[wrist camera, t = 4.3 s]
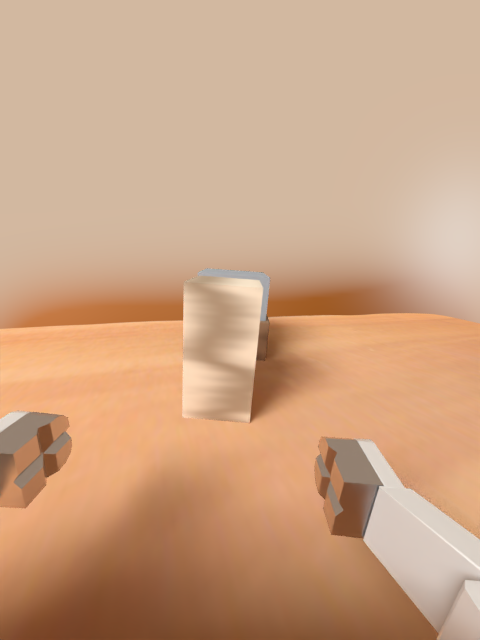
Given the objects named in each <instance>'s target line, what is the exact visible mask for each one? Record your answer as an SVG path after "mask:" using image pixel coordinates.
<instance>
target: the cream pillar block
mask: <svg viewBox="0 0 480 640" xmlns="http://www.w3.org/2000/svg"><path fill="white" fill-rule="evenodd" d="M262 296H263V287H262V285H261V282H260V280H251V279H238V278H226V277H213V276H200V275H199V276H197V277H195V278H192V279H190V280H187V281H185V282H184V319H183V409H182V417H185V418H197V419H209V420H221V421H232V422H244V423H250V414H251V404H252V395H253V385H254V375H255V365H256V355H257V345H258V335H259V325H260V316H261V306H262Z"/></svg>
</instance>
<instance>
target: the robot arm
mask: <svg viewBox="0 0 480 640" xmlns="http://www.w3.org/2000/svg"><path fill="white" fill-rule="evenodd" d="M68 428H69V421H68V417H66V416H64V415H56V414H47V413H38V412H26V411H15V412H11V413H9V414H7V415H6V416H4V417H3V418H1V419H0V507H9V508H26V507H27V506H28V505H29V504H30V503H31V502H32V501H33V499H34V498H35V497H36V496H37V495H38V494H39V493H40V492H41V490H42V489H43V488H44V487H45V486H46V483H47V477H49V476H51V475H53V474H54V473H56V472H58V471H59V470H60V469H61V467H62V466H63V465H64V464H65V463H66V461H67V459H68V457H69V455H70V453H71V447H72V440H71V437H70V436H69V435H68V434H67V433H66V430H67V429H68ZM318 448H319V450H320V453H321V454H320V455H319V456H318V457H317V458H316V461H315V481H316V486H317V489H318V493H319V494H320V495H321V496H322V497H323V498H324V499H325V503H324V507H323V509H324V513H325V516H326V519H327V522H328V526H329V529H330V532H331V535H338V536H346V537H354V538H363V541H364V542H365V543H366V545H367V546H368V547H369V548H370V550H371V551H372V552H373V553H374V555H375V556H376V557H377V558H378V560H379V561H380V562H381V563H382V564H383V566H384V567H385V568H386V569H387V571H388V572H389V573H390V574H391V576H392V577H393V578H394V579H395V581H396V582H397V583H398V584H399V585H400V587H401V588H402V589H403V590H404V592H405V593H406V594H407V595H408V597H409V598H410V599H411V600H412V602H413V603H414V604H415V605H416V606H417V608H418V609H419V610H420V611H421V613H422V614H423V615H424V616H425V618H426V619H427V620H428V621H429V623H430V624H431V625H432V626H433V627H434V629H435V630H436V631H437V632H438V636H437V638H436V640H480V539H478V538H477V537H476V536H474V535H473V534H472V533H470V532H469V531H467V530H466V529H465V528H463V527H462V526H461V525H459V524H458V523H457V522H455V521H454V520H453V519H451V518H450V517H448V516H447V515H446V514H444V513H443V512H442V511H440V510H439V509H438V508H436V507H435V506H434V505H432V504H431V503H429V502H428V501H427V500H425V499H424V498H423V497H421V496H420V495H419V494H417V493H416V492H415V491H413V490H412V489H407V488H405V487H404V486H403V484H402V483H401V481H400V480H399V478H398V477H397V475H396V474H395V473H394V471H393V470H392V468H391V467H390V465H389V464H388V462H387V461H386V459H385V458H384V456H383V455H382V454H381V452H380V451H379V449H378V448H377V446H376V445H375V443H374V442H373V441H371V440H370V439H349V438H335V437H321V439H320V440H319V445H318Z"/></svg>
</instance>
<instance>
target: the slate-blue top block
mask: <svg viewBox="0 0 480 640" xmlns="http://www.w3.org/2000/svg"><path fill="white" fill-rule="evenodd" d="M199 275H200V276H213V277H226V278H238V279H251V280H260V282H261V285H262V287H263V296H262V306H261V316H260V321H266V312H267V302H268V292H269V284H270V277H268V276H267V275H265V274H264V273H262V272H249V271H234V270H221V269H205V270H202V271H200V272H198V276H199Z"/></svg>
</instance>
